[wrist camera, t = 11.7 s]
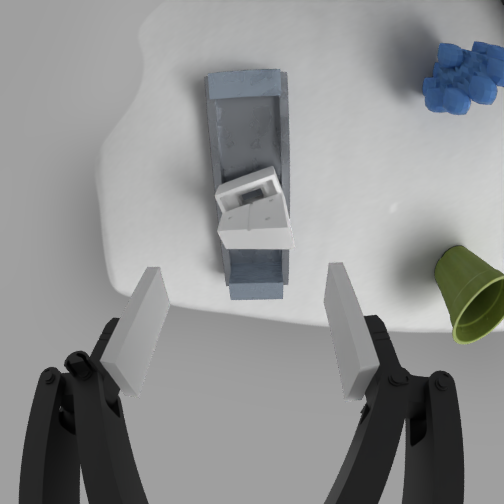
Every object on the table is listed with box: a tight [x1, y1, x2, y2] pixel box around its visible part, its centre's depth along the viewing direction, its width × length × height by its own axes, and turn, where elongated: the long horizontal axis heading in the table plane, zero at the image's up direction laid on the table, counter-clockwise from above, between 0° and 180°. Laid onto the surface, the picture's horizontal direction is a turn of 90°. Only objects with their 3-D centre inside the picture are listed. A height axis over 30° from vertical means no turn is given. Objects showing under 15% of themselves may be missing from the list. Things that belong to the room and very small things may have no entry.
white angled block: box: [215, 166, 295, 249], centre depth 24 cm, size 4×10×9 cm, turn 111°
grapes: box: [422, 41, 504, 115], centre depth 16 cm, size 12×7×12 cm, turn 146°
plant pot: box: [435, 246, 504, 344], centre depth 30 cm, size 12×12×11 cm
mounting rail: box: [205, 69, 290, 300], centre depth 28 cm, size 24×8×5 cm, turn 3°
